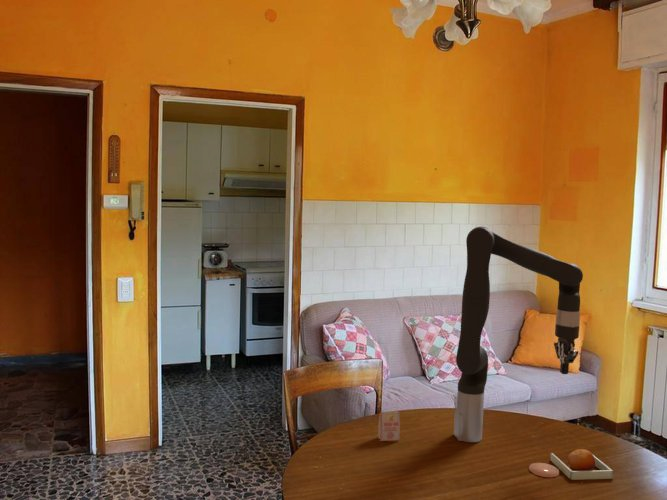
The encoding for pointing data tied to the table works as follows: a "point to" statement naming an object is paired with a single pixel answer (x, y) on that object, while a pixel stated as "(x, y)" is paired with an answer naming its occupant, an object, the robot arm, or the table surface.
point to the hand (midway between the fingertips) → (564, 373)
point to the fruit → (581, 460)
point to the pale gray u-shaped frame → (579, 475)
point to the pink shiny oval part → (544, 470)
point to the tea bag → (389, 426)
